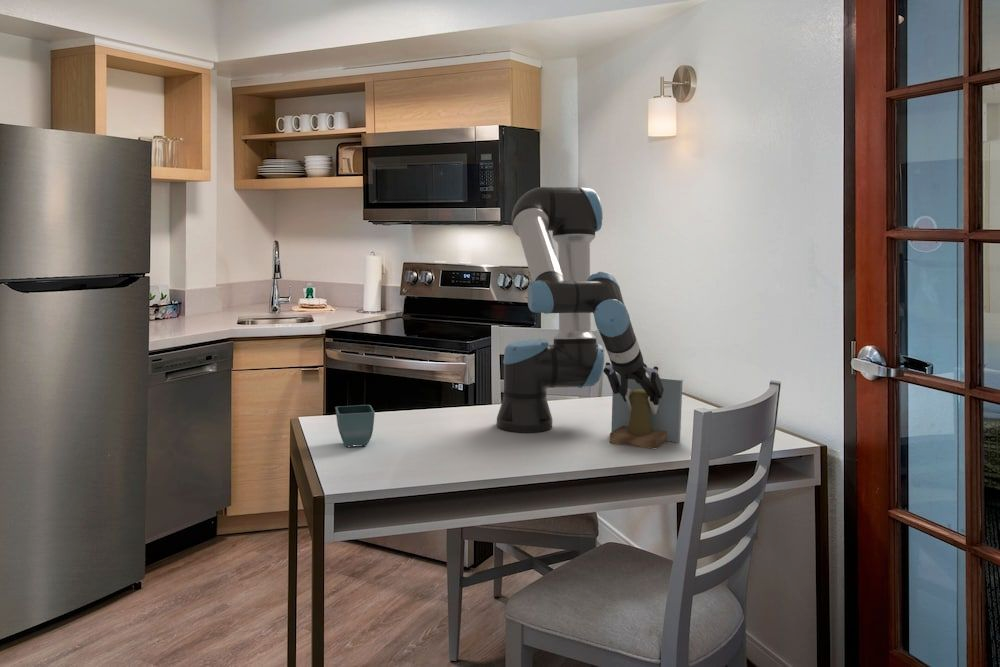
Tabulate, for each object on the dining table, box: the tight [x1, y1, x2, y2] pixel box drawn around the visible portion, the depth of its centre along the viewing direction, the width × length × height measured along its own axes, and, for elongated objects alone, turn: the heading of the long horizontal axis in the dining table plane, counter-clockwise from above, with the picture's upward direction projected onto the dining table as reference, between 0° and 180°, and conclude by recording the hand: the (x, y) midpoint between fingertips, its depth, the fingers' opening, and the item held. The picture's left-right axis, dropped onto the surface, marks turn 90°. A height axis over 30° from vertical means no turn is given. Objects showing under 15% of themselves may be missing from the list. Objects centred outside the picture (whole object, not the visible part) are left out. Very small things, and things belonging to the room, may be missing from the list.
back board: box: [610, 372, 684, 443], centre depth 219 cm, size 18×2×16 cm, turn 62°
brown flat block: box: [609, 426, 668, 449], centre depth 216 cm, size 12×9×2 cm
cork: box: [628, 389, 651, 435], centre depth 214 cm, size 6×6×11 cm
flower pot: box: [334, 404, 376, 447], centre depth 209 cm, size 9×9×9 cm
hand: (644, 408), depth 217 cm, fingers closed on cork, 5 cm apart
